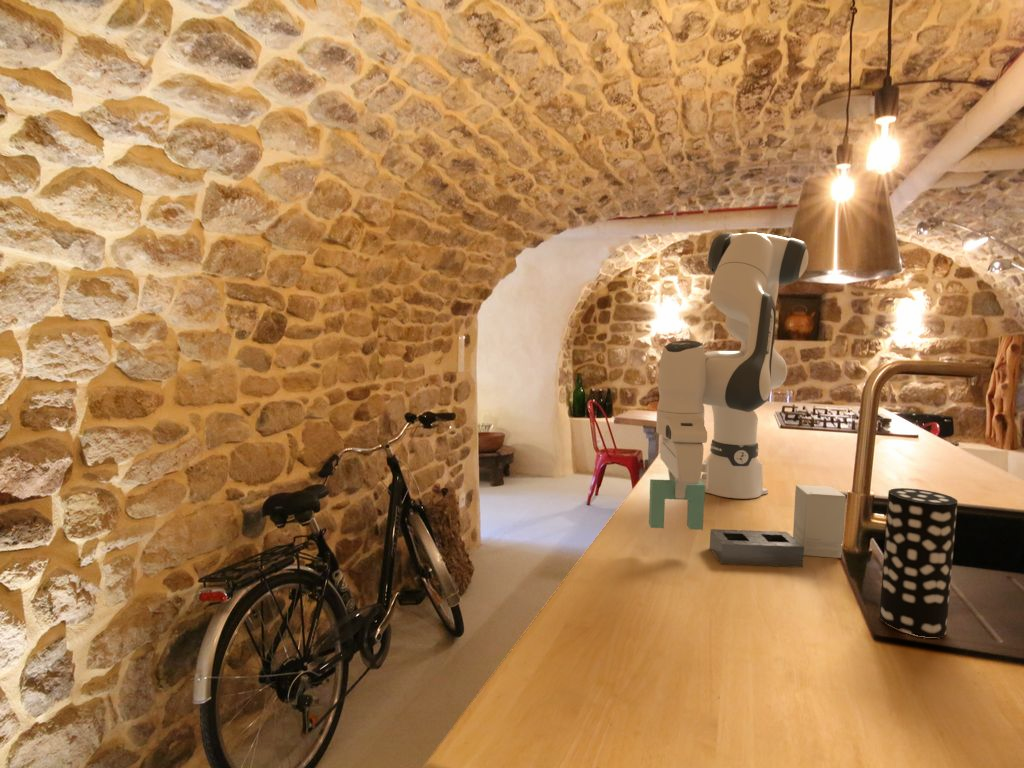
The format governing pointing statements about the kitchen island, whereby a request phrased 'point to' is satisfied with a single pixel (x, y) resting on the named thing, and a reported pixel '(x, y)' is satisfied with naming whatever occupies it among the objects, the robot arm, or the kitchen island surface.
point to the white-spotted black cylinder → (918, 561)
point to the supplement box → (819, 520)
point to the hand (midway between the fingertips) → (676, 494)
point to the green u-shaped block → (666, 491)
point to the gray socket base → (756, 548)
